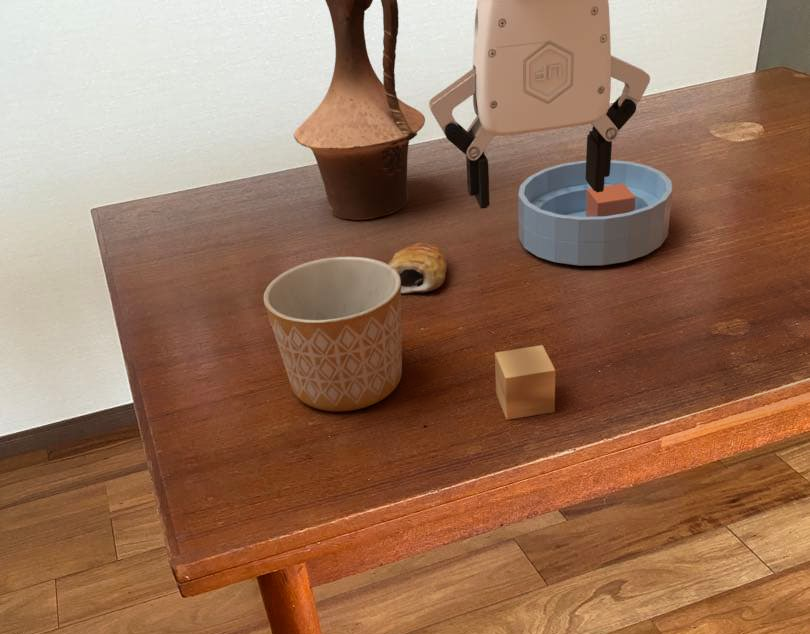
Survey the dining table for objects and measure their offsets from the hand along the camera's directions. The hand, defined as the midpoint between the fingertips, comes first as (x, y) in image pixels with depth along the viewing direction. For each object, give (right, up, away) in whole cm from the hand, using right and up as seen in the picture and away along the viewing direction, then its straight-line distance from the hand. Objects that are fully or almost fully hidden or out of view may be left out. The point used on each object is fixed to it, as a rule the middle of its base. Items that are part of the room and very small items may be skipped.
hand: (538, 194), depth 74 cm
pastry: (-10, +1, +29) cm, 30 cm away
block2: (+13, +8, +32) cm, 36 cm away
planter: (-17, -14, +14) cm, 26 cm away
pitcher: (-16, +16, +46) cm, 52 cm away
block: (0, -16, +8) cm, 18 cm away
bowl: (+11, +7, +32) cm, 35 cm away
